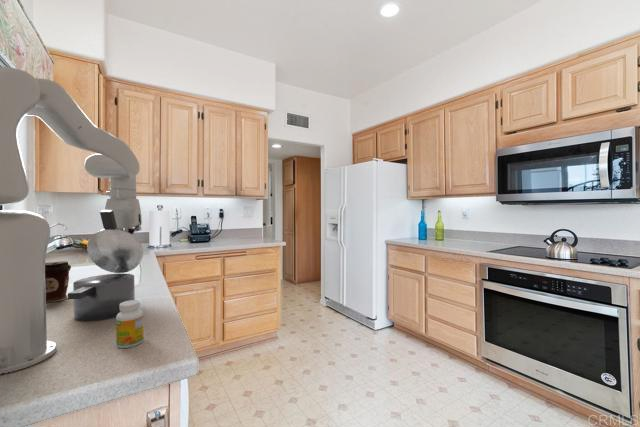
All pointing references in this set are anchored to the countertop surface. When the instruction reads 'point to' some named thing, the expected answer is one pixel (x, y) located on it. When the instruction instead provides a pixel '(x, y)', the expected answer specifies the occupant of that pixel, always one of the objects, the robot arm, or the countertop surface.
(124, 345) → the supplement bottle
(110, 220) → the cooker lid
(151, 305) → the countertop surface
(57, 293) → the coffee cup
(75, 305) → the cooker pot
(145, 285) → the countertop surface
